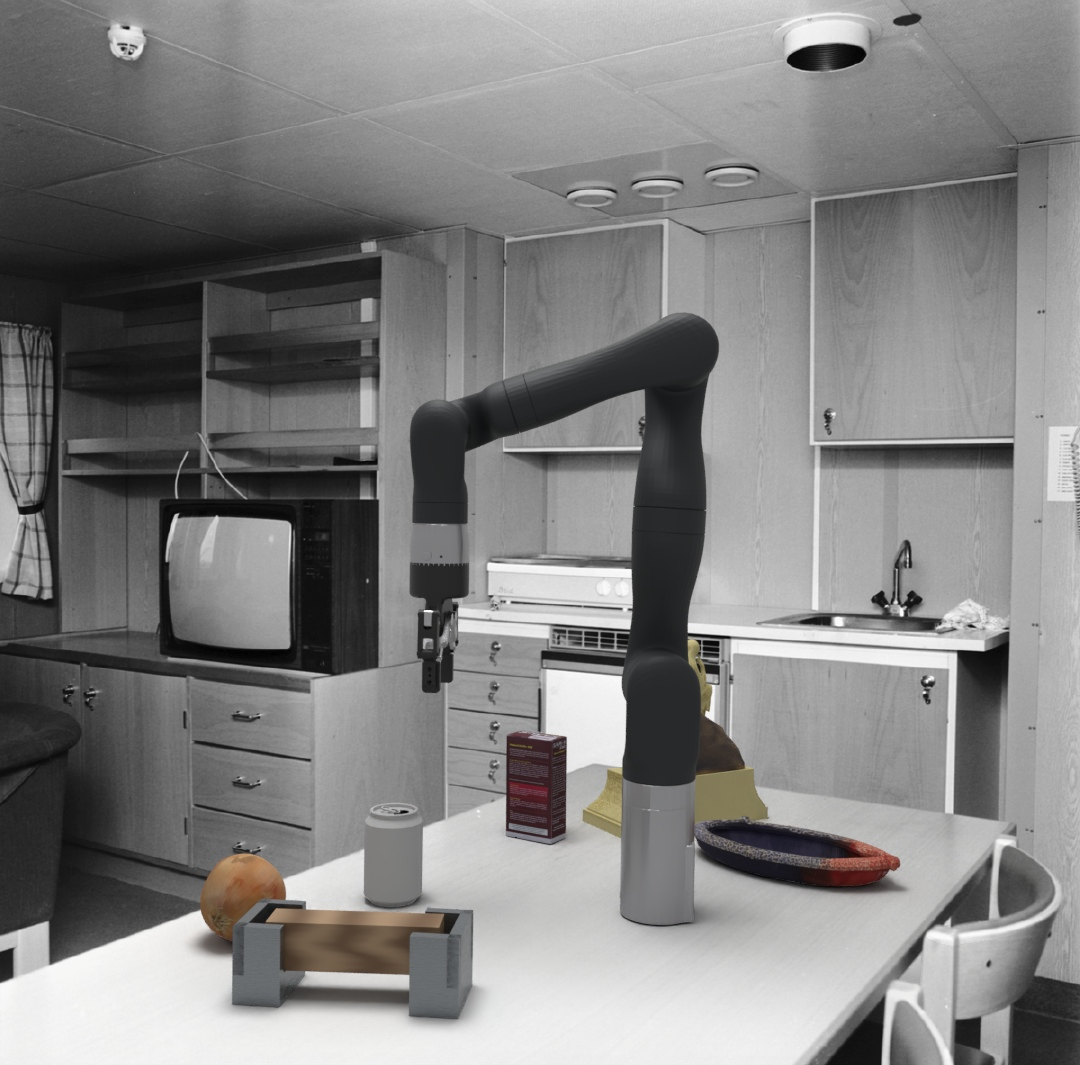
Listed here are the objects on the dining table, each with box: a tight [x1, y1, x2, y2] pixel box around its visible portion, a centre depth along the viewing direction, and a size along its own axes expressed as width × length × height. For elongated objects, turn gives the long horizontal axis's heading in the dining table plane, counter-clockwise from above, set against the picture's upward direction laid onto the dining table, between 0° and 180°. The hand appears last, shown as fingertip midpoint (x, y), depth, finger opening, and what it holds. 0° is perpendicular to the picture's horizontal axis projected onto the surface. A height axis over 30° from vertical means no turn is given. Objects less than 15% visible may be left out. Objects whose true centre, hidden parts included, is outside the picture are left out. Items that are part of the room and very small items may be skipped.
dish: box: [694, 816, 901, 887], centre depth 165 cm, size 16×31×5 cm, turn 52°
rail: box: [265, 908, 444, 976], centre depth 121 cm, size 18×4×5 cm, turn 87°
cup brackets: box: [231, 899, 474, 1020], centre depth 121 cm, size 23×8×8 cm, turn 84°
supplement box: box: [505, 730, 568, 845], centre depth 179 cm, size 9×5×16 cm, turn 58°
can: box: [363, 802, 424, 908], centre depth 150 cm, size 8×8×12 cm
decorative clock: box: [582, 638, 769, 839], centre depth 190 cm, size 28×13×30 cm, turn 120°
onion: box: [199, 853, 287, 942], centre depth 136 cm, size 10×10×10 cm
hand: (438, 687), depth 147 cm, fingers open, 8 cm apart
